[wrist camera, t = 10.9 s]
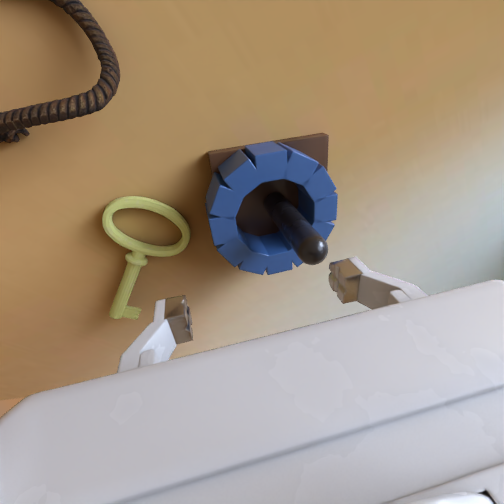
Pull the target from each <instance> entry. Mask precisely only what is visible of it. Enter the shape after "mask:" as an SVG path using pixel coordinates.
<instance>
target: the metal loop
mask: <svg viewBox="0 0 504 504" xmlns="http://www.w3.org/2000/svg"><path fill="white" fill-rule="evenodd" d="M50 1H52V2H54V3H55V4H56V5H57V6H59V7H61V8H63V9H64V11H65V12H66V13H67V14H69V15H70V16H71V17H72V18H73V19H74V20H75V21H76V22H77V23H78V25H79V26H80V27H81V28H82V29H83V30H84V32H85V33H86V35H87V36H88V38H89V39H90V41H91V42H92V45H93V47H94V49H95V51H96V53H97V55H98V59H99V60H100V62H101V67H102V70H101V74H100V79H99V80H98V83H97V84H96V85H95V86H93V88H92V90H89V91H87V92H86V93H81V94H79V95H74V96H72V97H70V98H64V99H62V100H54V101H52V102H46V103H41V104H36V105H31V106H28V107H24V108H19V109H13V110H11V111H6V112H3V113H0V143H1V142H3V141H5V142H8V143H11V142H19V137H18V135H17V133H22V134H24V135H26V136H28V135H29V132H28V131H27V130H26V129H25V128H30V127H32V126H37V125H41V124H48V123H55V122H57V121H64V120H67V119H73V118H75V117H81V116H84V115H87V114H91V113H93V112H96V111H99V110H101V109H103V107H105V106H106V105H107V104H108V102H109V101H110V100H111V99H112V97H113V96H114V95H115V94H116V91H117V88H118V84H119V81H120V69H119V64H118V61H117V57H116V54H115V52H114V51H113V48H112V46H111V45H110V43H109V40H108V39H107V38H106V36H105V33H104V32H103V30H102V29H101V28H100V26H99V25H98V23H97V21H96V20H95V19H94V18H93V17H92V15H91V13H90V12H89V11H88V10H87V8H85V7H84V6H83V4H82V3H81V2H80V1H79V0H50Z"/></svg>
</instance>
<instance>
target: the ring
mask: <svg viewBox="0 0 504 504" xmlns="http://www.w3.org/2000/svg"><path fill="white" fill-rule="evenodd" d="M245 152H246V155H245V154H244V153H243V152H242V151H241V150H240V149H238V150H237V151H236V152H235V153H234V154H232V155H231V156H230V157H229V158H228V159H227V160H225V161H224V162H223V163H222V164H221V165H220V166H218V169H219V171H220V173H221V174H218V173H216V172H214V174H213V177H212V180H211V183H210V186H209V188H208V191H207V194H206V202H207V203H205V206H206V211H207V215H208V220H209V225H210V229H211V234H212V238H213V243H214V246H216V248H217V251H218V252H219V253H220V254H221V255H222V256H223V257H224V258H225V259H226V260H228V261H229V262H230V263H231V264H232V265H233V266H234V267H236V266H237V265H238V267H239V269H240V270H243V271H248V272H252V273H256V274H261V275H263V273H264V271H265V270H266V272H267V274H268V275H270V274H274V273H279V272H283V271H287V270H292V262H293V263H294V264H295V265H296V267H298V266H299V265H301V264H302V263H303V262H302V261H301V260H300V259H299V257H298V256H297V254H296V253H295V252H294V250H293V249H292V247H291V246H290V244H289V243H288V241H287V240H286V238H285V237H284V235H283V234H282V232H281V231H280V230H279V231H278V232H277V233H273V234H268V235H264V236H255V235H252V234H249V233H245V232H243V231H242V230H241V229H240V228H239V227H238V226H237V225H236V219H235V217H236V215H237V212H238V210H239V207H240V205H241V202H242V200H243V198H244V197H245V196H246V195H247V194H248V193H250V192H251V191H252V190H253V189H255V188H256V187H257V186H258V185H259V184H261V183H264V182H269V181H274V180H279V179H286V180H289V181H291V182H294V183H295V184H296V186H297V187H298V198H299V206H298V208H297V210H298V212H299V213H300V214H301V215H302V216H303V217H304V218H305V219H306V220H307V221H308V222H309V223H310V224H311V226H312V227H313V228H314V229H315V230H316V231H317V232H318V233H319V234H320V235H321V236H322V237H323V239H324V240H325V241H326V240H327V238H328V236H329V234H330V233H331V231H332V229H333V227H334V226H335V225H334V224H333V223H332V222H331V221H333V220H336V215H337V193H335V192H334V190H336V187H335V185H334V183H333V182H332V180H331V178H330V177H329V175H328V173H327V171H326V170H325V168H324V166H322V165H320V164H319V162H318V161H316V160H314V159H313V158H311V157H309V156H307V155H306V154H304V153H302V152H300V151H298V150H296V149H293V148H291V147H289V146H287V145H284V144H282V143H280V142H278V143H277V144H276V143H274V142H273V141H270V142H265V143H259V144H253V145H247V146H245Z"/></svg>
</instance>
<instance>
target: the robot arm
mask: <svg viewBox="0 0 504 504" xmlns="http://www.w3.org/2000/svg"><path fill="white" fill-rule="evenodd" d="M329 269H330V271H331V273H330V274H329V283H330V286H331V288H332V290H333V291H335V292H337V296H338V298H339V299H340V300H341V302H342V303H343V304H344V303H349V302H353V301H358V302H359V303H361V304H363V305H365V306H367V307H369V308H370V309H372V310H368V311H364V312H360V313H356V314H352V315H348V316H344V317H340V318H336V319H332V320H328V321H324V322H320V323H316V324H312V325H308V326H304V327H300V328H296V329H292V330H288V331H284V332H280V333H276V334H272V335H268V336H264V337H260V338H256V339H252V340H248V341H244V342H240V343H236V344H232V345H228V346H224V347H220V348H216V349H212V350H208V351H204V352H200V353H196V354H192V355H188V356H184V357H180V358H176V359H171V360H168V359H169V358H170V356H171V354H172V353H173V351H174V349H175V347H176V346H177V344H180V343H184V342H188V341H191V340H193V332H192V327H191V325H192V317H191V312H190V308H189V307H188V306H187V299H186V296H185V295H182V296H177V297H172V298H167V299H162V300H157V301H156V302H155V309H154V318H153V322H152V323H150V324H149V325H148V326H147V327H146V328H145V329H144V330H143V332H142V333H141V334H140V335H139V336H138V337H137V338H136V339H135V341H134V342H133V343H132V344H131V345H130V346H129V347H128V348H127V349H126V351H125V352H124V353H123V354H122V355H121V357H120V361H119V366H118V370H117V373H115V374H111V375H107V376H103V377H99V378H95V379H91V380H87V381H83V382H79V383H75V384H71V385H67V386H63V387H59V388H55V389H50V390H46V391H42V392H38V393H35V394H31V395H29V396H27V397H25V398H24V399H22V400H21V401H20V402H19V403H17V404H16V405H15V406H14V407H12V408H11V409H10V410H9V411H8V412H6V413H5V414H4V415H3V416H2V417H1V418H0V504H504V281H503V280H489V281H485V282H481V283H477V284H473V285H469V286H465V287H461V288H457V289H453V290H449V291H445V292H441V293H437V294H433V295H429V296H428V295H427V294H425V293H424V292H423V291H422V290H421V289H420V288H419V287H417V286H416V285H414V284H411V283H408V282H405V281H402V280H399V279H396V278H393V277H390V276H387V275H384V274H381V273H378V272H375V271H373V272H372V271H371V270H370V269H369V268H367V267H366V266H365V265H364V264H363V263H362V262H361V261H360V260H359V259H358V258H357V257H351V258H347V259H344V260H340V261H336V262H331V263H330V265H329Z"/></svg>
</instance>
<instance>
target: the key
mask: <svg viewBox="0 0 504 504" xmlns="http://www.w3.org/2000/svg"><path fill="white" fill-rule="evenodd" d="M123 208H139V209H145V210H149V211H152V212H155V213H158V214H160V215H162V216H164V217H166V218H167V219H169V220H171V221H172V222H173V223H174V224H175V225H176V226H177V227H178V228H179V229H180V230H181V233H182V238H181V240H180V241H179V242H178V243H176V244H174V245H169V246H157V245H151V244H147V243H143V242H140V241H138V240H135V239H133V238H131V237H128V236H127V235H125V234H124V233H122V232H121V231H120V230H119V229H117V228H116V227H115V225H114V224H113V221H112V216H113V214H114V212H116V211H117V210H119V209H123ZM102 222H103V227H104V230H105V231H106V233H107V235H108V236H109V237H111V238H112V239H113V240H114V241H115V242H116V243H118V244H120V245H121V246H123V247H125V248H128V249H130V250H132V252H130V253H127V254H126V256H125V259H126V261H127V262H128V264H127V266H126V269H125V272H124V275H123V277H122V280H121V283H120V285H119V288H118V291H117V293H116V296H115V299H114V301H113V304H112V307H111V310H110V312H109V316H110V317H111V318H113V319H120V318H121V317H126V318H131V319H136V320H137V319H138V316H139V315H138V314H140V312H141V308H137V307H132V306H128V305H127V302H128V300H129V297H130V295H131V292H132V289H133V287H134V284H135V282H136V279H137V277H138V274H139V271H140V269H141V266H145V265H146V264H147V263H148V259H147V258H146V257H145V256H146V255H150V256H156V257H167V256H173V255H176V254H178V253H180V252H182V251H183V250H184V249H185V248H186V246H187V244H188V242H189V239H190V236H191V234H190V228H189V225H188V223H187V222H186V220H185V219H184V218H183V217H182V216H181V215H180V214H179V213H178V212H177V211H176V210H174V209H173V208H171V207H170V206H168V205H166V204H164V203H161V202H159V201H156V200H153V199H149V198H145V197H139V196H129V197H122V198H118V199H115V200H113V201H112V202H110V203H109V204H108V205H107V206H106V207H105V210H104V212H103V217H102Z"/></svg>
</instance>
